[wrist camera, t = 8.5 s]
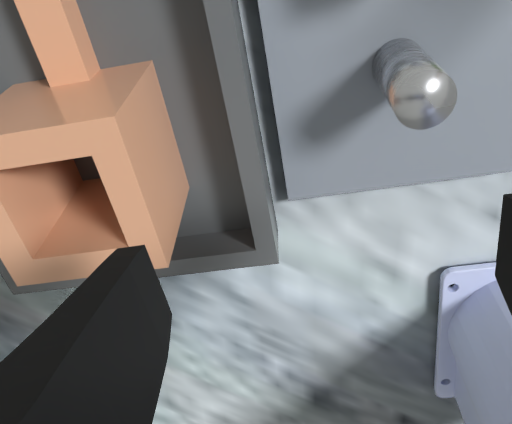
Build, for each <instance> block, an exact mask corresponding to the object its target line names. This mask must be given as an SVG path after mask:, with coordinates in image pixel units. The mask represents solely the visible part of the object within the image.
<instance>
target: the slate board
mask: <svg viewBox="0 0 512 424" xmlns="http://www.w3.org/2000/svg"><path fill="white" fill-rule="evenodd" d="M258 7H259V13H260V20H261V26H262V33H263V39H264V46H265V52H266V59H267V65H268V71H269V78H270V84H271V91H272V97H273V104H274V110H275V117H276V123H277V130H278V136H279V143H280V149H281V156H282V162H283V169H284V175H285V182H286V188H287V195H288V201H290V200H297V199H305V198H313V197H320V196H328V195H335V194H343V193H351V192H358V191H366V190H374V189H381V188H389V187H397V186H404V185H412V184H420V183H427V182H435V181H442V180H450V179H458V178H465V177H473V176H481V175H488V174H496V173H504V172H511V171H512V0H258ZM397 38H407V39H410V40H413V41H414V42H416V43H417V44H418V45H419V46H420V47H421V48H422V49H423V50H424V51H425V52H426V53H427V54H428V55H429V56H430V57H431V58H432V59H433V60H434V61H435V62H436V63H437V64H438V65H439V66H440V67H441V68H442V69H443V70H444V71H445V72H446V73H447V74H448V75H449V76H450V77H451V78H452V80H453V81H454V83H455V85H456V88H457V101H456V105H455V107H454V109H453V111H452V112H451V114H450V115H449V116H448V117H447V118H446V119H445V120H444V121H443V122H441V123H440V124H438V125H437V126H434V127H432V128H429V129H423V130H416V129H411V128H408V127H406V126H404V125H403V124H402V123H401V122H400V121H399V120H398V119H397V117H396V115H395V114H394V112H393V110H392V108H391V107H390V105H389V103H388V101H387V100H386V98H385V96H384V94H383V93H382V91H381V89H380V87H379V86H378V84H377V82H376V80H375V79H374V77H373V74H372V62H373V58H374V56H375V54H376V53H377V51H378V50H379V49H380V48H381V47H382V46H383V45H384V44H385V43H387V42H389V41H391V40H393V39H397Z"/></svg>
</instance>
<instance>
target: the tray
mask: <svg viewBox="0 0 512 424" xmlns="http://www.w3.org/2000/svg"><path fill="white" fill-rule="evenodd" d="M76 2H77V5H78V7H79V10H80V13H81V16H82V19H83V22H84V24H85V27H86V30H87V33H88V36H89V38H90V41H91V44H92V47H93V50H94V53H95V55H96V58H97V61H98V64H99V67H100V69H105V68H110V67H116V66H122V65H128V64H133V63H139V62H145V61H150V60H152V61H153V64H154V67H155V71H156V74H157V78H158V81H159V85H160V88H161V91H162V95H163V98H164V102H165V105H166V109H167V112H168V115H169V119H170V122H171V126H172V129H173V133H174V136H175V139H176V143H177V146H178V150H179V153H180V157H181V160H182V163H183V167H184V170H185V174H186V177H187V180H188V184H189V191H188V195H187V199H186V203H185V206H184V210H183V214H182V218H181V222H180V226H179V229H178V233H177V237H176V241H175V245H174V249H173V252H172V256H171V260H170V264H169V268H161V269H154V270H155V272H156V275H157V277H158V278H159V277H167V276H176V275H184V274H193V273H201V272H210V271H218V270H227V269H235V268H244V267H253V266H261V265H270V264H278V263H279V258H278V229H277V223H276V217H275V211H274V206H273V200H272V194H271V189H270V183H269V177H268V172H267V166H266V160H265V155H264V149H263V143H262V137H261V132H260V126H259V120H258V115H257V109H256V103H255V98H254V92H253V86H252V81H251V75H250V69H249V63H248V58H247V52H246V46H245V41H244V35H243V29H242V24H241V18H240V12H239V6H238V1H237V0H76ZM42 79H47V78H46V76H45V74H44V71H43V69H42V66H41V64H40V62H39V59H38V57H37V55H36V52H35V50H34V47H33V45H32V43H31V40H30V38H29V36H28V33H27V31H26V28H25V26H24V24H23V21H22V19H21V17H20V14H19V12H18V9H17V7H16V5H15V2H14V0H0V94H2V93H3V92H4V91H5V90H7V89H8V88H9V87H11V86H12V85H14V84H19V83H25V82H31V81H36V80H42ZM74 162H75V164H76V166H77V169H78V171H79V173H80V176H81V178H82V180H83V181H85V180H91V179H98V178H101V177H100V175H99V172H98V170H97V167H96V165H95V162H94V160H93V158H92V156H87V157H81V158H75V159H74ZM0 273H1V275H2V277H3V278H4V280H5V282H6V283H7V285H8V287H9V288H10V290H11V292H12V293H13V294H22V293H30V292H39V291H47V290H56V289H65V288H73V287H79V286H80V285H81V284H82V283H83V282H84V281H85V280H86V279H87V278H81V279H73V280H65V281H57V282H49V283H41V284H33V285H25V286H17V285H16V283H15V282H14V280H13V278H12V277H11V275H10V273H9V272H8V270H7V268H6V267H5V265H4V264H3V262H2V260H1V259H0Z"/></svg>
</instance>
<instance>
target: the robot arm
mask: <svg viewBox="0 0 512 424" xmlns="http://www.w3.org/2000/svg"><path fill="white" fill-rule="evenodd" d="M451 284H455V285H453V286H449V285H451ZM171 320H172V313H171V310H170V308H169V305H168V303H167V300H166V297H165V295H164V292H163V290H162V287H161V285H160V282H159V280H158V277H157V275H156V272H155V270H154V267H153V264H152V262H151V259H150V257H149V254H148V252H147V249H146V247H145V245H139V246H131V247H124V248H117V249H116V250H115V251H114V252H113V253H112V254H111V255H110V256H109V257H107V258H106V259H105V260H104V261H103V262H102V263H101V264H100V265H99V266H98V267H97V268H96V269H95V270H94V272H93V273H92V274H91V275H90V276H89V277H88V278H87V279H86V280H85V281H84V282H83V283H82V284H81V285H80V286H79V287H78V288H77V289H76V290H75V291H74V292H73V293H72V294H71V295H70V296H69V297H68V298H67V299H66V300H65V301H64V302H63V303H62V304H61V305H60V306H59V307H58V308H57V309H56V310H55V311H54V312H53V313H52V314H51V315H50V316H49V317H48V318H47V319H46V320H45V321H44V322H43V323H42V324H41V325H40V326H39V327H38V328H37V329H36V330H35V331H34V332H33V333H32V334H31V335H29V336H28V337H27V338H26V339H25V340H24V341H23V342H22V343H21V344H20V345H19V346H18V347H17V348H16V349H15V350H14V351H12V352H11V353H10V354H9V355H8V356H7V357H6V358H5V359H4V360H3V361H2V362H0V424H152V421H153V417H154V413H155V409H156V405H157V401H158V397H159V393H160V389H161V384H162V380H163V376H164V372H165V367H166V363H167V358H168V350H169V342H170V332H171ZM434 391H435V394H436V396H437V397H440V398H452V397H455V399H456V401H457V404H458V407H459V409H460V412H461V415H462V418H463V420H464V423H465V424H512V194H505V195H503V204H502V213H501V222H500V232H499V241H498V250H497V259H496V262H492V263H483V264H475V265H466V266H457V267H450V268H447V269H445V270H444V271H443V272H442V273H441V276H440V292H439V309H438V326H437V344H436V361H435V378H434Z"/></svg>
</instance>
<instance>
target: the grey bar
mask: <svg viewBox="0 0 512 424" xmlns="http://www.w3.org/2000/svg"><path fill="white" fill-rule="evenodd" d="M372 74H373V77H374V79H375V80H376V82H377V84H378V86H379V87H380V89H381V91H382V93H383V94H384V96H385V98H386V100H387V101H388V103H389V105H390V107H391V108H392V110H393V112H394V114H395V115H396V117H397V119H398V120H399V121H400V122H401V123H402V124H403V125H404V126H406V127H408V128H411V129H416V130H423V129H429V128H432V127H434V126H437V125H438V124H440V123H441V122H443V121H444V120H445V119H446V118H447V117H448V116H449V115H450V114H451V112H452V111H453V109H454V107H455V105H456V101H457V88H456V85H455V83H454V81H453V80H452V78H451V77H450V76H449V75H448V74H447V73H446V72H445V71H444V70H443V69H442V68H441V67H440V66H439V65H438V64H437V63H436V62H435V61H434V60H433V59H432V58H431V57H430V56H429V55H428V54H427V53H426V52H425V51H424V50H423V49H422V48H421V47H420V46H419V45H418V44H417V43H416V42H414V41H413V40H410V39H407V38H397V39H393V40H391V41H389V42H387V43H385V44H384V45H383V46H382V47H381V48H380V49H379V50H378V51H377V53H376V54H375V56H374V58H373V62H372Z"/></svg>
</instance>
